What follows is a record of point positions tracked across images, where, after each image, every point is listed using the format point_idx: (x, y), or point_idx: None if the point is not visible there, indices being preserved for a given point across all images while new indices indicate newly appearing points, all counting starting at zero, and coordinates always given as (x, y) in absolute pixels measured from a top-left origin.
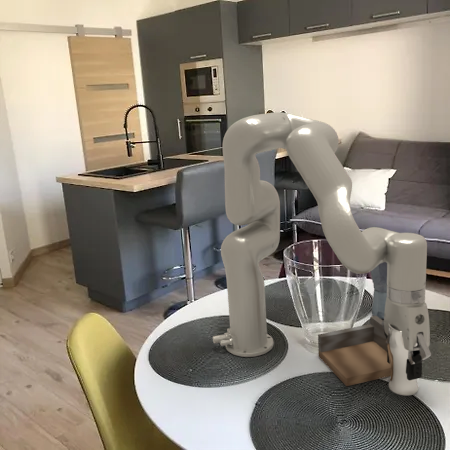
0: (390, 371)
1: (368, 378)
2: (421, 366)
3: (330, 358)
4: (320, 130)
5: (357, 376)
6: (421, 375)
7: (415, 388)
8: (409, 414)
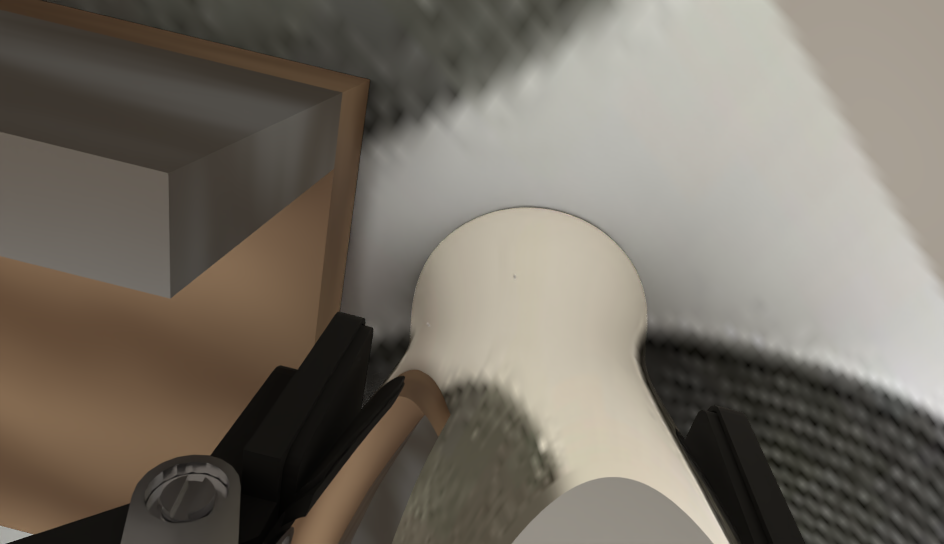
0: (330, 285)
1: None
2: (786, 517)
3: (14, 515)
4: None
5: None
6: (748, 424)
7: (646, 328)
8: None
